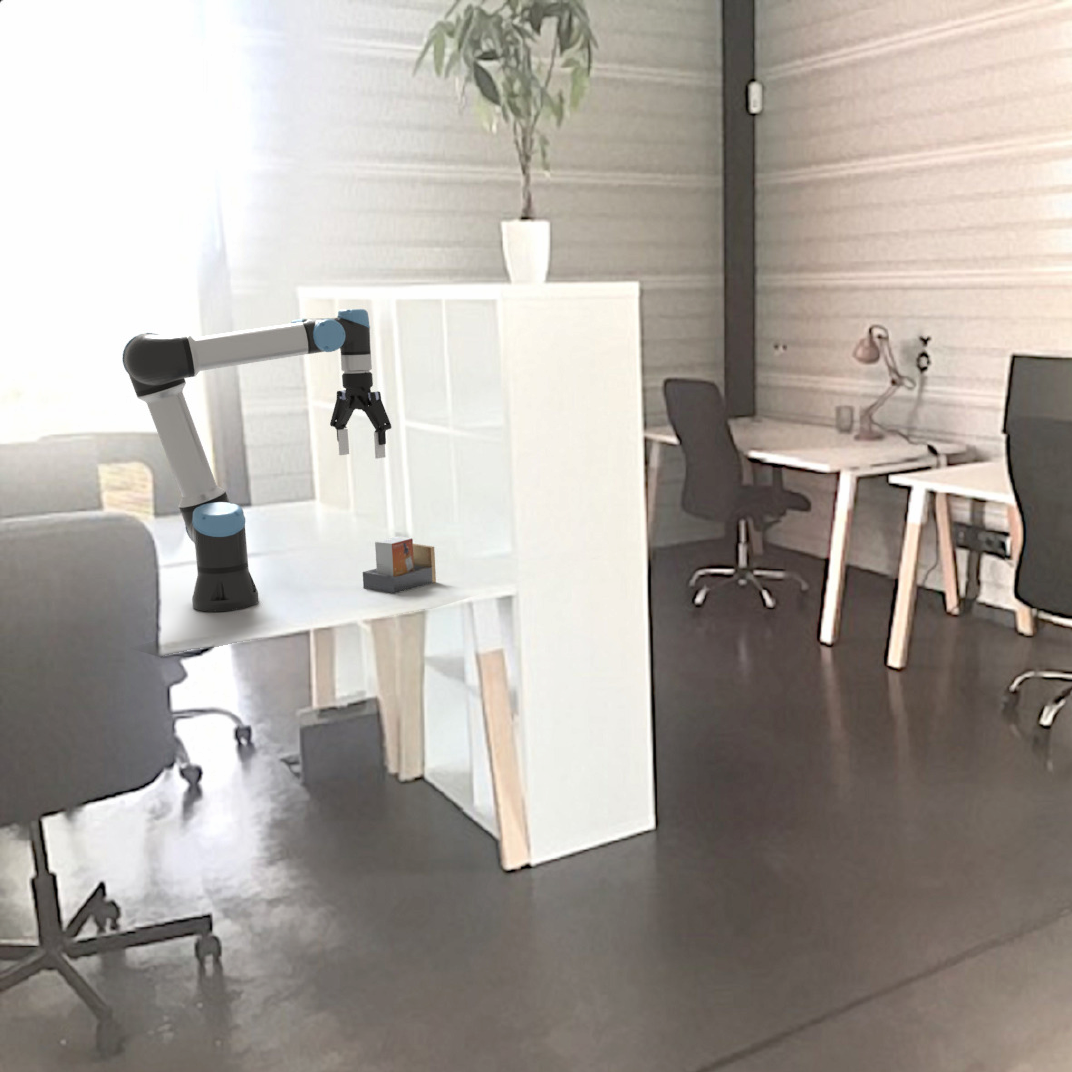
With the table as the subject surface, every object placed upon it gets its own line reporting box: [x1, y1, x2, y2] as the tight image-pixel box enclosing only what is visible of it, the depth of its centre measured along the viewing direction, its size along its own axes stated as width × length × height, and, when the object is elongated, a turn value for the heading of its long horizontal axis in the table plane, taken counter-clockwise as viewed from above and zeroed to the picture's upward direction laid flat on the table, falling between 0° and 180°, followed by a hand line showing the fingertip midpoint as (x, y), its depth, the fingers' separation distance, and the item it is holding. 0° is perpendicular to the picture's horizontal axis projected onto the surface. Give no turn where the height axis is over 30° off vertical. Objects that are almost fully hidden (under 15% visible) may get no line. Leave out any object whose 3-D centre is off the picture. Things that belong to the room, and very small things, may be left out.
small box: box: [374, 536, 414, 576], centre depth 292 cm, size 8×6×10 cm
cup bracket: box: [362, 543, 437, 595], centre depth 292 cm, size 11×14×9 cm
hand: (362, 456), depth 300 cm, fingers open, 13 cm apart
